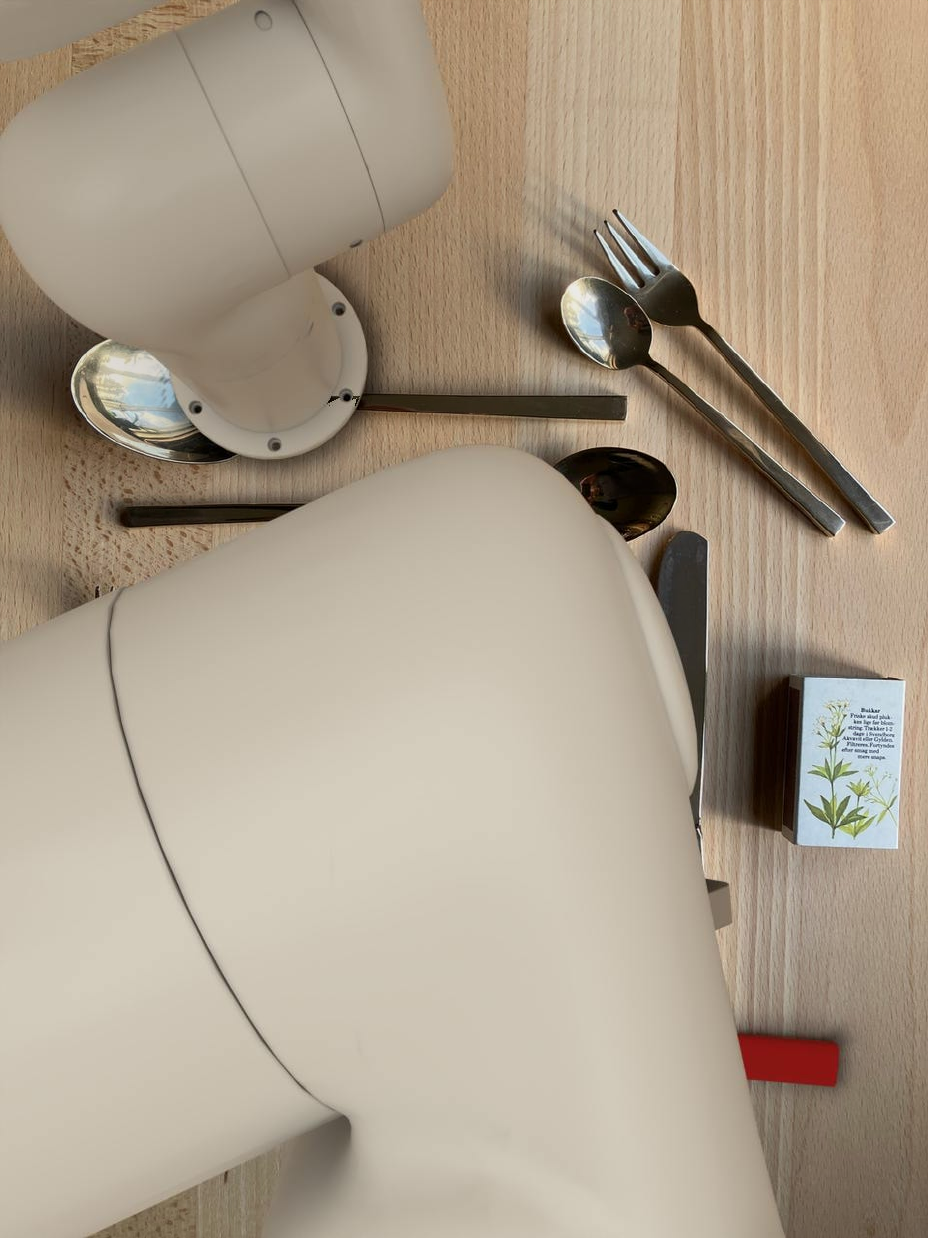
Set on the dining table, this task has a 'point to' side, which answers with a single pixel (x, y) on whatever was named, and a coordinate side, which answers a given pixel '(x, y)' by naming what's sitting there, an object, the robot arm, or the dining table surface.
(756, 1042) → the lighter
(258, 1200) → the dining table surface
